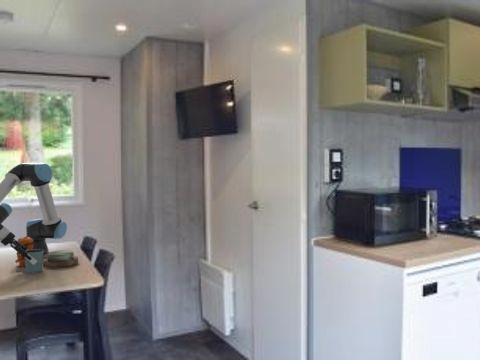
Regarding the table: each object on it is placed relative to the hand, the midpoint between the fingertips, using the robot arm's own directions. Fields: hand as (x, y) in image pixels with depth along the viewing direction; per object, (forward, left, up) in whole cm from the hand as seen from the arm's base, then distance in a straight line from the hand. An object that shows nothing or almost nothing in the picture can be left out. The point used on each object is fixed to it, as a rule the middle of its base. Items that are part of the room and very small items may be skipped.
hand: (35, 260), depth 257 cm
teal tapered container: (0, -1, -6) cm, 6 cm away
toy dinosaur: (-13, -15, -6) cm, 21 cm away
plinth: (-18, +5, -6) cm, 20 cm away
